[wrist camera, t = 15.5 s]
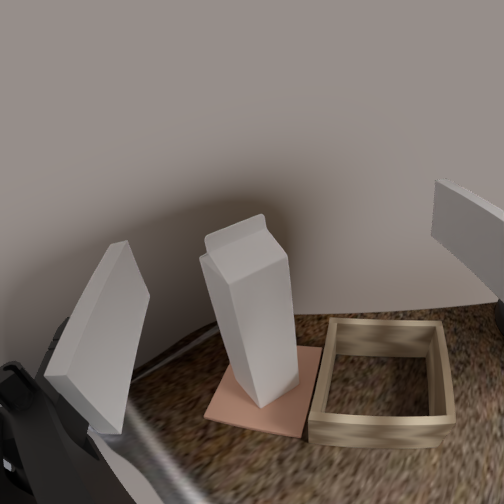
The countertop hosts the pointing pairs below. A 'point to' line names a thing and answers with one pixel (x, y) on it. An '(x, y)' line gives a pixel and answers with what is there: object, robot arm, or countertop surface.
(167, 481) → the countertop surface
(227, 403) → the mat
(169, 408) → the countertop surface
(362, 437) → the holder
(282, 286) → the milk
